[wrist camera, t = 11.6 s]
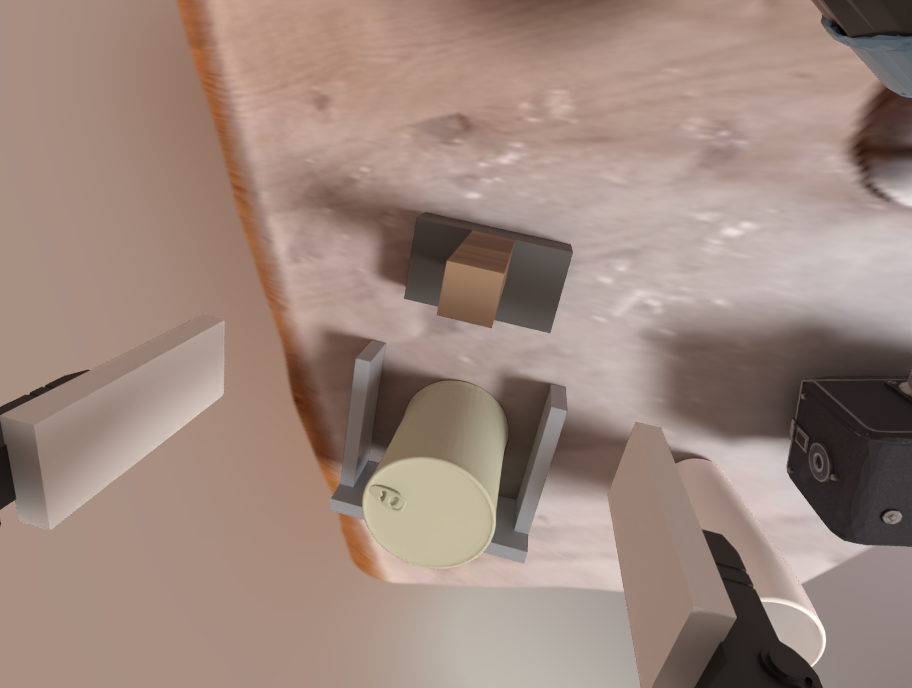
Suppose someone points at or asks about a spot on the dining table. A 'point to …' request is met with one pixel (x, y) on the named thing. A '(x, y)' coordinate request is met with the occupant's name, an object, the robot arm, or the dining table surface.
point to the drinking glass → (755, 556)
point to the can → (439, 477)
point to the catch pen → (509, 512)
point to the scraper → (486, 273)
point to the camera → (856, 456)
